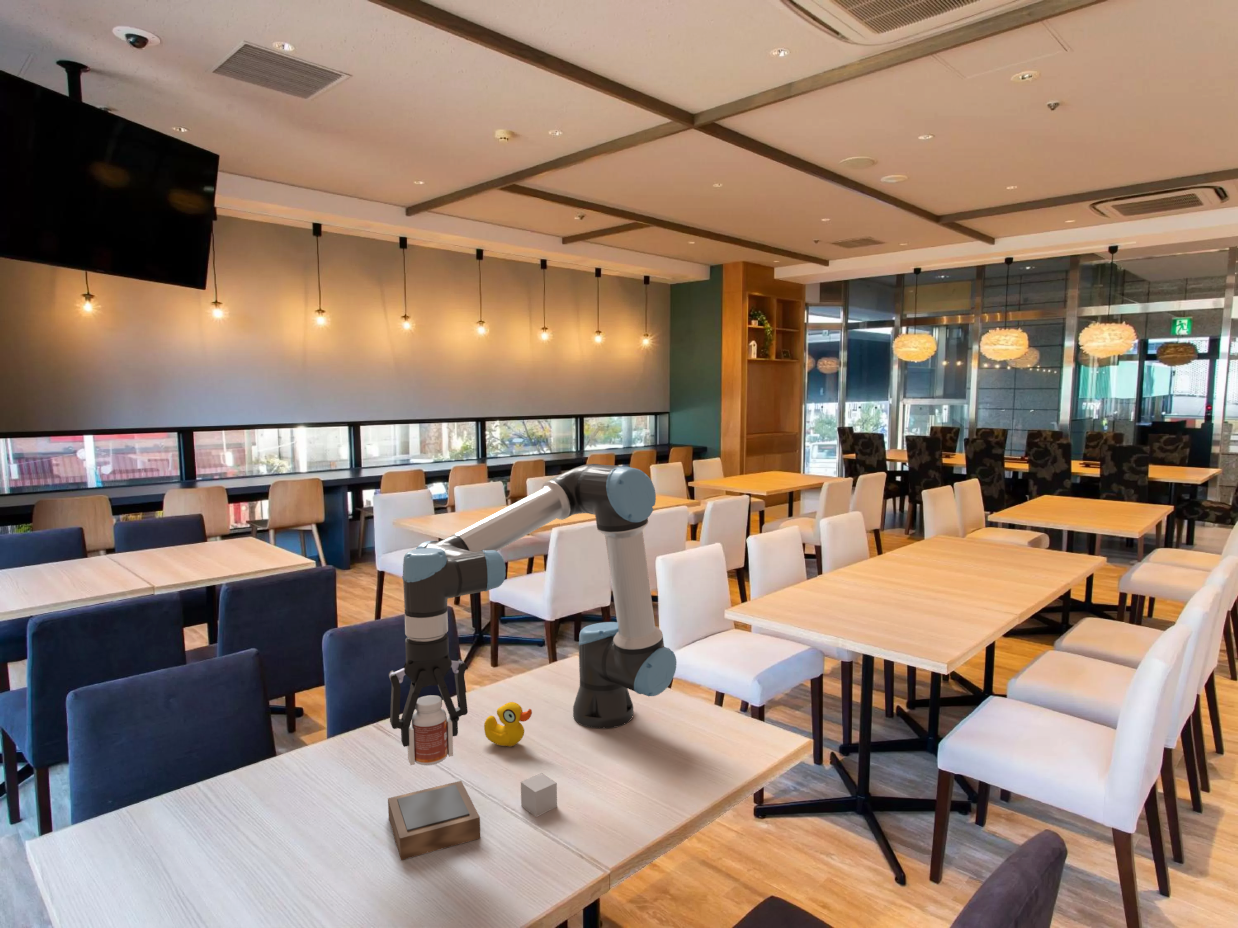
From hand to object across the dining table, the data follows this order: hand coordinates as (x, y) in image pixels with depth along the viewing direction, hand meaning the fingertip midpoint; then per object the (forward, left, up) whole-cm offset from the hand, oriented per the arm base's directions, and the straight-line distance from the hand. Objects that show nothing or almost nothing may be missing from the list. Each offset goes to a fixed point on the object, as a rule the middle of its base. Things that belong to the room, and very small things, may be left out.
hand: (430, 756), depth 132 cm
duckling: (-22, -25, -14) cm, 36 cm away
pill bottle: (0, 0, 0) cm, 0 cm away
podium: (0, 0, -14) cm, 14 cm away
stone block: (-20, +2, -14) cm, 24 cm away
